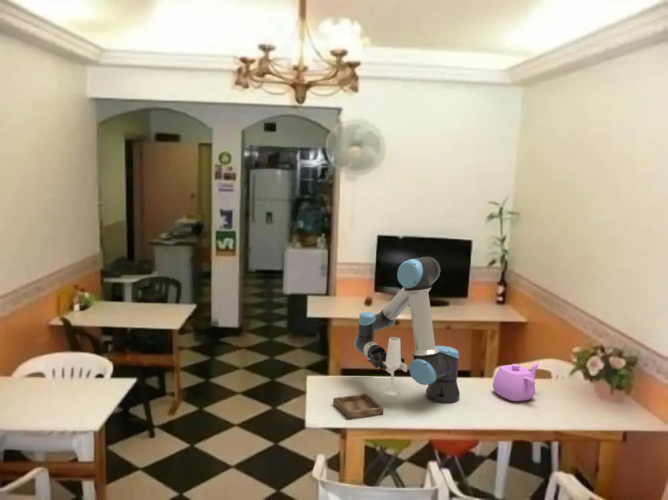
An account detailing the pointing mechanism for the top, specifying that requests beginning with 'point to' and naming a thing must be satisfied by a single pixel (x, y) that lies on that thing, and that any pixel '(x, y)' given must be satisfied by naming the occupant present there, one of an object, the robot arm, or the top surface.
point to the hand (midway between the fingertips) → (398, 369)
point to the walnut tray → (358, 406)
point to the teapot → (515, 382)
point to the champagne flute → (393, 361)
